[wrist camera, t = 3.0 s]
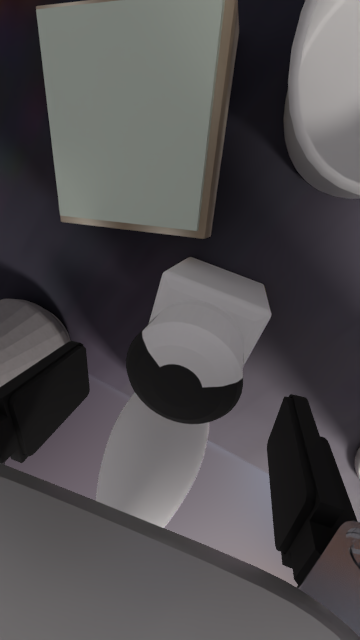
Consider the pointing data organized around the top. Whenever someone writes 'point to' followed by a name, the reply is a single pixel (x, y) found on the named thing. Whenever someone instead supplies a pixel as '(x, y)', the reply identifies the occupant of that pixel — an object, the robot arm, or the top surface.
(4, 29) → the top surface
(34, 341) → the coffee pot
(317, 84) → the saucepan
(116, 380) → the top surface
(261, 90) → the top surface
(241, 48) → the top surface
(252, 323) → the medicine bottle
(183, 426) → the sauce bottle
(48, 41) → the plinth
